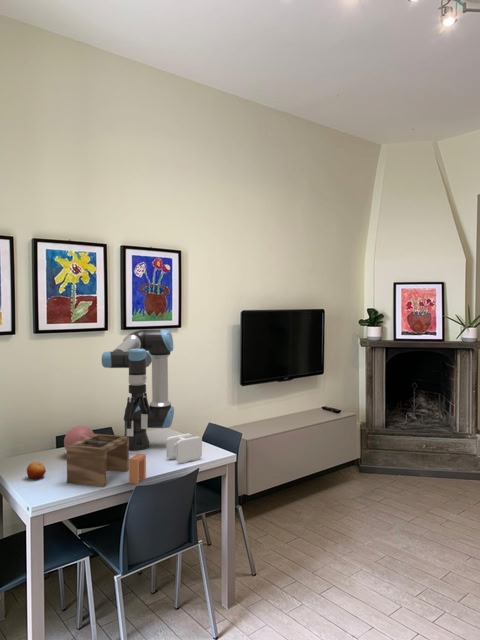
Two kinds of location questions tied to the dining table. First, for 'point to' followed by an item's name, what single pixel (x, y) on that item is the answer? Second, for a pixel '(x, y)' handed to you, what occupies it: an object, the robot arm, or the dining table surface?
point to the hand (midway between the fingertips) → (137, 432)
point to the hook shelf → (96, 459)
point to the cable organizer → (184, 448)
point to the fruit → (35, 470)
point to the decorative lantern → (77, 435)
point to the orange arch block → (137, 468)
